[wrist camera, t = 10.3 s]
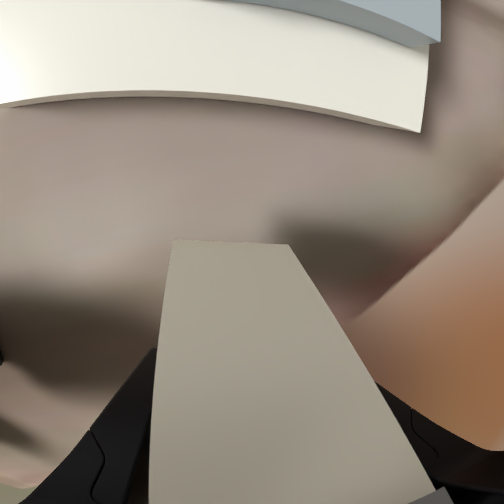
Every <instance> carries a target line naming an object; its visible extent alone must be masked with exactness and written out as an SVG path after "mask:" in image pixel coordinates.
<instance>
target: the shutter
mask: <svg viewBox="0 0 504 504" xmlns="http://www.w3.org/2000/svg"><path fill="white" fill-rule="evenodd" d="M228 1H237V2H245V3H252V4H259V5H265V6H271V7H277V8H282V9H287V10H292V11H297V12H301V13H306V14H310V15H314V16H318V17H322V18H325V19H329V20H333V21H336V22H340V23H343V24H346V25H350V26H353V27H356V28H359V29H362V30H365V31H368V32H371V33H373V34H376V35H379V36H382V37H384V38H387V39H389V40H392V41H394V42H397V43H399V44H402V45H404V46H407V47H415V46H421V45H427V44H433V43H440V42H441V0H228Z"/></svg>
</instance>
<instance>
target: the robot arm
mask: <svg viewBox="0 0 504 504" xmlns="http://www.w3.org/2000/svg"><path fill="white" fill-rule="evenodd" d="M157 349H158V347H152V348H151V349H150V350H149V351H148V353H147V354H146V355H145V356H144V358H143V359H142V360H141V362H140V363H139V364H138V365H137V367H136V368H135V369H134V371H133V372H132V373H131V375H130V376H129V377H128V378H127V380H126V381H125V382H124V384H123V385H122V386H121V388H120V389H119V390H118V391H117V393H116V394H115V395H114V397H113V398H112V399H111V401H110V402H109V403H108V405H107V406H106V407H105V409H104V410H103V411H102V413H101V414H100V415H99V416H98V418H97V419H96V420H95V422H94V423H93V424H92V426H91V427H90V430H88V431H87V432H86V434H85V435H84V436H83V438H82V439H81V440H80V442H79V443H78V444H77V445H76V446H75V448H74V449H73V450H72V451H71V453H70V454H69V455H68V456H67V457H66V458H65V459H64V460H63V461H62V462H61V464H60V465H59V466H58V467H57V468H56V469H55V470H54V471H53V472H52V473H51V474H50V475H49V476H48V477H47V478H46V479H45V480H44V481H43V482H42V483H41V484H40V485H39V486H38V487H37V488H36V489H35V490H34V491H33V492H32V493H31V494H30V495H29V496H28V497H27V498H26V499H24V500H23V501H22V502H20V503H19V504H149V458H150V434H151V417H152V403H153V390H154V379H155V368H156V358H157ZM3 361H4V359H3V357H2V354H1V352H0V366H1V365H2V363H3ZM374 382H375V381H374ZM375 384H376V386H377V387H378V389H379V391H380V392H381V394H382V396H383V397H384V399H385V401H386V403H387V404H388V406H389V408H390V409H391V411H392V413H393V415H394V416H395V418H396V420H397V422H398V423H399V425H400V427H401V429H402V430H403V432H404V434H405V436H406V437H407V439H408V441H409V443H410V444H411V446H412V448H413V450H414V452H415V453H416V455H417V457H418V459H419V461H420V462H421V464H422V466H423V468H424V470H425V471H426V473H427V475H428V477H429V479H430V481H431V483H432V484H433V486H434V488H435V490H438V489H440V488H442V487H445V489H446V490H447V492H448V494H449V496H450V498H451V500H452V501H453V503H454V504H504V451H490V450H486V449H482V448H480V447H478V446H475V445H474V444H472V443H470V442H468V441H466V440H464V439H462V438H460V437H458V436H457V435H455V434H453V433H451V432H449V431H448V430H446V429H444V428H442V427H441V426H439V425H437V424H436V423H434V422H432V421H431V420H429V419H428V418H426V417H425V416H423V415H421V414H420V413H419V412H417V411H416V410H414V409H411V407H410V406H409V405H407V404H406V403H404V402H403V401H401V400H400V399H399V398H397V397H396V396H394V395H393V394H392V393H390V392H389V391H387V390H386V389H385V388H383V387H382V386H380V385H379V384H378V383H376V382H375Z"/></svg>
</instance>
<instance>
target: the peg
mask: <svg viewBox="0 0 504 504" xmlns="http://www.w3.org/2000/svg"><path fill="white" fill-rule="evenodd" d="M149 504H454V503H453V501H452V500H451V498H450V496H449V494H448V492H447V490H446V489H445V487H442V488H440V489H438V490H435V488H434V486H433V484H432V483H431V481H430V479H429V477H428V475H427V473H426V471H425V470H424V468H423V466H422V464H421V462H420V461H419V459H418V457H417V455H416V453H415V452H414V450H413V448H412V446H411V444H410V443H409V441H408V439H407V437H406V436H405V434H404V432H403V430H402V429H401V427H400V425H399V423H398V422H397V420H396V418H395V416H394V415H393V413H392V411H391V409H390V408H389V406H388V404H387V403H386V401H385V399H384V397H383V396H382V394H381V392H380V391H379V389H378V387H377V386H376V384H375V382H374V381H373V379H372V377H371V376H370V374H369V372H368V371H367V369H366V367H365V366H364V364H363V362H362V361H361V359H360V357H359V356H358V354H357V352H356V351H355V349H354V347H353V346H352V344H351V343H350V341H349V339H348V338H347V336H346V334H345V333H344V331H343V330H342V328H341V326H340V325H339V323H338V321H337V320H336V318H335V317H334V315H333V313H332V312H331V310H330V309H329V307H328V306H327V304H326V302H325V301H324V299H323V298H322V296H321V294H320V293H319V291H318V290H317V288H316V287H315V285H314V283H313V282H312V280H311V279H310V277H309V276H308V274H307V273H306V271H305V269H304V268H303V266H302V265H301V263H300V262H299V260H298V259H297V257H296V256H295V254H294V252H293V251H292V249H291V248H290V246H289V245H286V244H264V243H242V242H218V241H194V240H173V243H172V249H171V255H170V261H169V267H168V274H167V280H166V287H165V294H164V301H163V308H162V315H161V323H160V331H159V340H158V349H157V358H156V368H155V379H154V390H153V403H152V417H151V434H150V458H149Z"/></svg>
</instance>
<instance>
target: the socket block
mask: <svg viewBox="0 0 504 504" xmlns="http://www.w3.org/2000/svg"><path fill="white" fill-rule="evenodd" d="M428 60H429V44H427V45H421V46H415V47H407V46H404V45H402V44H399V43H397V42H394V41H392V40H389V39H387V38H384V37H382V36H379V35H376V34H373V33H371V32H368V31H365V30H362V29H359V28H356V27H353V26H350V25H346V24H343V23H340V22H336V21H333V20H329V19H325V18H322V17H318V16H314V15H310V14H306V13H301V12H297V11H292V10H287V9H282V8H277V7H271V6H265V5H259V4H252V3H245V2H237V1H228V0H0V108H11V107H17V106H23V105H30V104H37V103H45V102H53V101H63V100H74V99H87V98H104V97H186V98H204V99H218V100H230V101H240V102H249V103H257V104H265V105H273V106H280V107H286V108H293V109H299V110H305V111H310V112H316V113H321V114H326V115H331V116H336V117H341V118H346V119H350V120H355V121H359V122H363V123H367V124H371V125H376V126H383V127H389V128H396V129H401V130H407V131H413V132H418V133H420V131H421V124H422V117H423V110H424V102H425V93H426V84H427V73H428Z"/></svg>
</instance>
